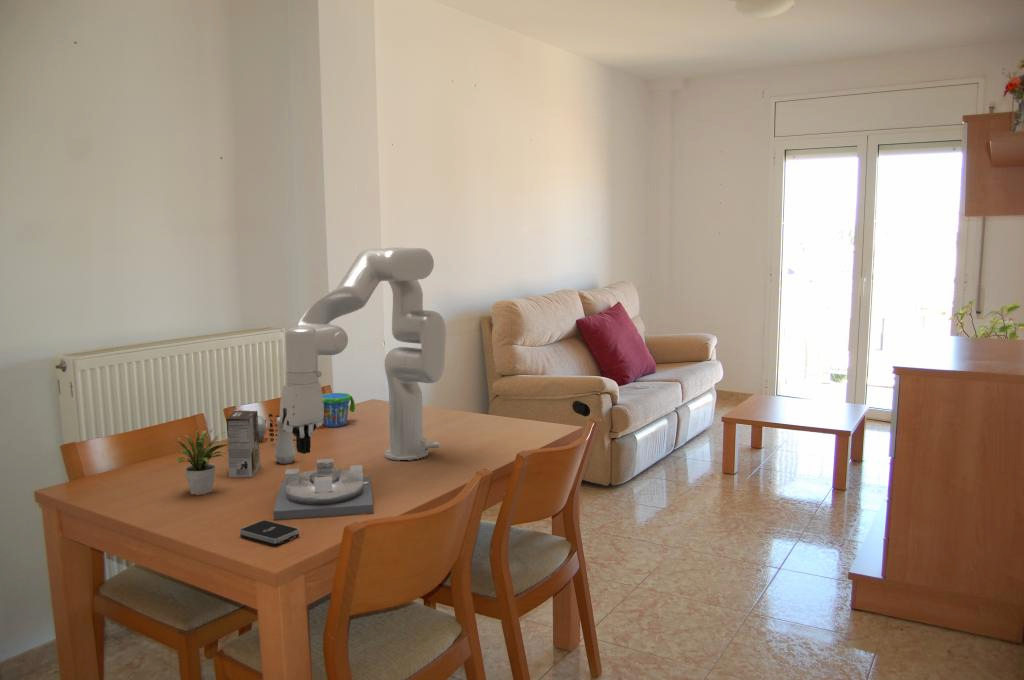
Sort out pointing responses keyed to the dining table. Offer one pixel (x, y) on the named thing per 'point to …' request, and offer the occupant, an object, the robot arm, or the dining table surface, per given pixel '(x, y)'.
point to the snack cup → (337, 408)
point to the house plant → (200, 463)
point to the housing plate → (323, 505)
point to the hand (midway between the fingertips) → (303, 452)
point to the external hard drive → (269, 533)
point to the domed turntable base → (324, 484)
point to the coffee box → (243, 443)
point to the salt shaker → (284, 445)
